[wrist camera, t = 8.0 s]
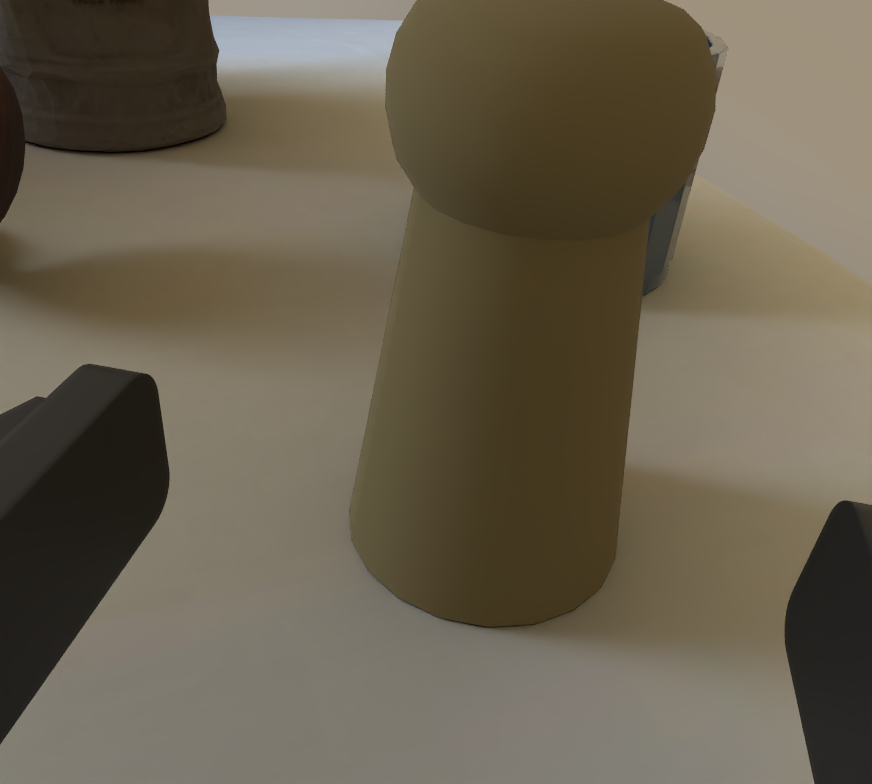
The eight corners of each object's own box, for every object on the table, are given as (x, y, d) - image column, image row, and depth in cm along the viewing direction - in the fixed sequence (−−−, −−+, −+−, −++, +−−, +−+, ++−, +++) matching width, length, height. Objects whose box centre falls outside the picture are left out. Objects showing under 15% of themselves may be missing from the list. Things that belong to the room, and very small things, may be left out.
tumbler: (368, 233, 31) (375, 6, 26) (528, 186, 37) (557, -6, 32) (562, 335, 25) (613, 72, 21) (714, 261, 31) (779, 43, 27)
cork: (595, 446, 21) (710, -28, 15) (640, 637, 16) (845, 37, 10) (362, 429, 21) (378, -59, 14) (332, 616, 16) (337, -10, 9)
